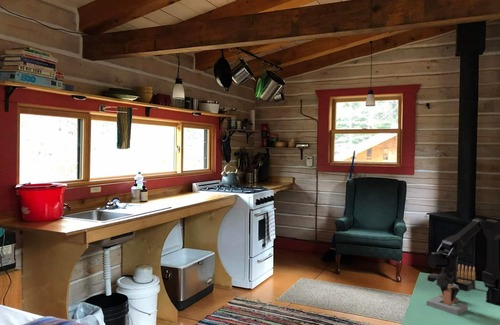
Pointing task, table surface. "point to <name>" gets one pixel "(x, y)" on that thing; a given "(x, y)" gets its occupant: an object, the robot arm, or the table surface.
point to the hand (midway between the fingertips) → (448, 300)
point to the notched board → (447, 306)
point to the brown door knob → (450, 289)
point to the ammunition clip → (466, 275)
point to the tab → (447, 297)
